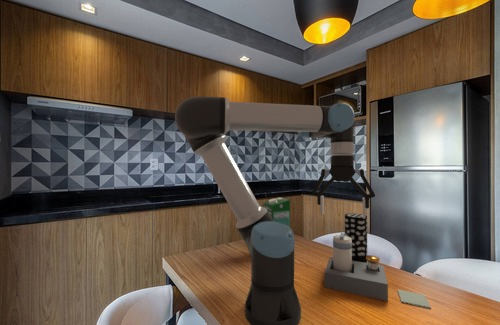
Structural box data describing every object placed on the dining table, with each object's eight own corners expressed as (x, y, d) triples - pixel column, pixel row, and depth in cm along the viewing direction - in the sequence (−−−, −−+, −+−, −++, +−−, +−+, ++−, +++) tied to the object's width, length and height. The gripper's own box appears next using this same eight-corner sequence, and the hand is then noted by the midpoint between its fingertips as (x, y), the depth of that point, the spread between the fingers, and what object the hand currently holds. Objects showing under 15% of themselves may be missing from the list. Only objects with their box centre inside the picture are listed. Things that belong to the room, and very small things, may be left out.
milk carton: (262, 251, 108) (262, 197, 108) (279, 248, 112) (279, 196, 112) (272, 258, 100) (272, 200, 100) (290, 255, 103) (290, 199, 104)
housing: (387, 301, 69) (387, 284, 69) (324, 287, 76) (324, 272, 76) (383, 280, 81) (383, 265, 81) (329, 269, 89) (329, 256, 89)
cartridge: (351, 287, 76) (351, 238, 77) (332, 283, 79) (332, 236, 79) (352, 279, 82) (352, 233, 82) (334, 275, 84) (333, 231, 85)
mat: (430, 308, 65) (430, 307, 65) (401, 302, 68) (401, 301, 68) (424, 296, 71) (424, 294, 71) (397, 290, 74) (397, 289, 74)
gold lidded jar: (379, 280, 76) (379, 260, 76) (366, 277, 78) (366, 258, 78) (379, 275, 80) (378, 256, 80) (366, 272, 82) (366, 254, 82)
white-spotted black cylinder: (348, 259, 99) (348, 212, 99) (369, 264, 94) (369, 215, 94) (341, 265, 93) (341, 215, 93) (364, 272, 87) (364, 218, 88)
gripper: (381, 154, 79) (382, 217, 79) (308, 156, 90) (308, 210, 89) (384, 153, 72) (384, 222, 72) (304, 155, 83) (304, 214, 83)
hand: (342, 216), depth 81 cm, fingers open, 13 cm apart
